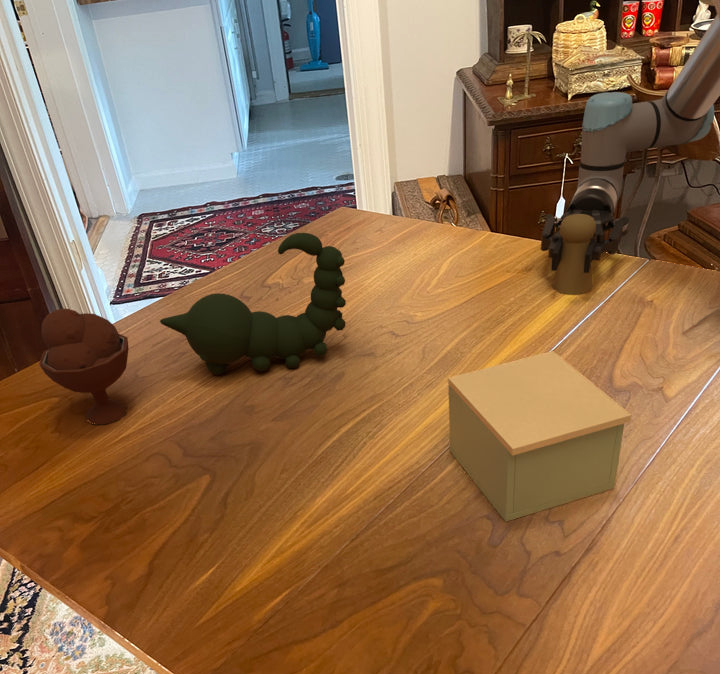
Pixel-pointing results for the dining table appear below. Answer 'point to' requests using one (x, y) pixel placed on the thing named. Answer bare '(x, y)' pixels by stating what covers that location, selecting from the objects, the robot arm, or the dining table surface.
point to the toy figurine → (267, 318)
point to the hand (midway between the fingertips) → (570, 262)
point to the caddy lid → (537, 402)
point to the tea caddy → (532, 465)
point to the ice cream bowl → (85, 358)
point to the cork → (574, 254)
